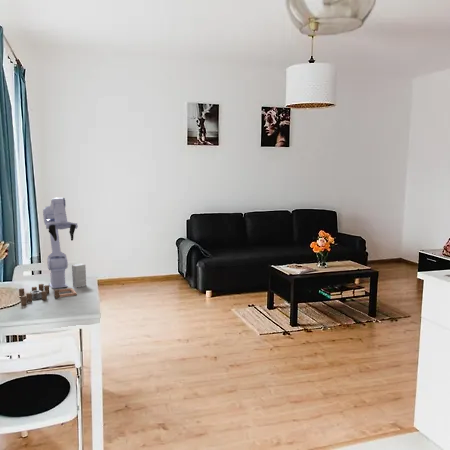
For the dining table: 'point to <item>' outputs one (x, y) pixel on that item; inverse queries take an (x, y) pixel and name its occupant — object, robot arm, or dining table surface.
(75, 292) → the parts bay
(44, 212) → the robot arm
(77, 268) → the skincare box
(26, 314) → the dining table surface
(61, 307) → the dining table surface
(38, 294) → the steel nut
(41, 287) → the walnut spacers
